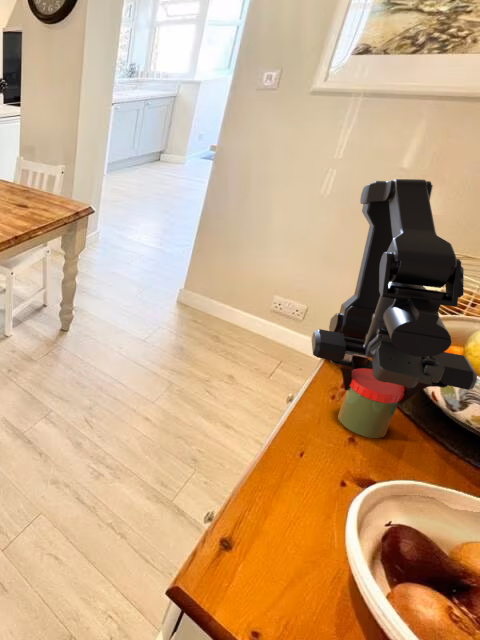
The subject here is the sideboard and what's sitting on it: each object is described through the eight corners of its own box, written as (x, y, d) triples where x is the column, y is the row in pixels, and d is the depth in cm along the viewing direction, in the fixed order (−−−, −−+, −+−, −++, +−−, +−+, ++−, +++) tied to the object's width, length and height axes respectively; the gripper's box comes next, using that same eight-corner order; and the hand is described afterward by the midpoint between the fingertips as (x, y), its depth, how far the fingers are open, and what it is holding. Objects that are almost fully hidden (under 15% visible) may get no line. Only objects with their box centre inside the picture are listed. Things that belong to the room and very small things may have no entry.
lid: (366, 372, 74) (369, 364, 73) (413, 397, 68) (416, 388, 67) (337, 381, 72) (340, 373, 72) (381, 408, 66) (385, 399, 66)
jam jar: (355, 407, 77) (369, 367, 73) (395, 432, 71) (413, 390, 67) (328, 416, 76) (341, 376, 72) (367, 442, 70) (383, 400, 66)
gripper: (326, 332, 64) (305, 406, 70) (510, 366, 53) (467, 450, 59) (321, 299, 72) (302, 369, 78) (480, 324, 61) (444, 401, 68)
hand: (371, 395), depth 71 cm, fingers closed on jam jar, lid, 6 cm apart
